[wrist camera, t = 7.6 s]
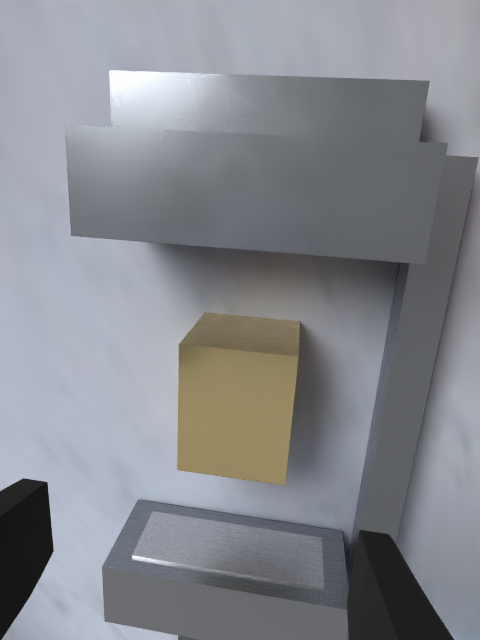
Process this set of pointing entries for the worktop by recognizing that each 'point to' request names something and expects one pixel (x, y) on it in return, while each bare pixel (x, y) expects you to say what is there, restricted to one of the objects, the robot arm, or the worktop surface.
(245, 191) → the vise
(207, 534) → the sliding jaw
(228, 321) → the brass block
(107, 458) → the worktop surface
